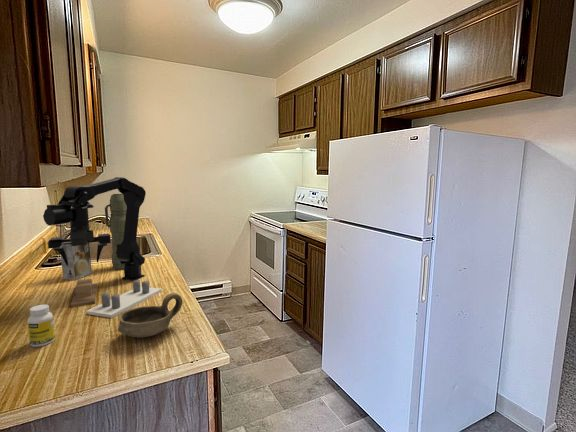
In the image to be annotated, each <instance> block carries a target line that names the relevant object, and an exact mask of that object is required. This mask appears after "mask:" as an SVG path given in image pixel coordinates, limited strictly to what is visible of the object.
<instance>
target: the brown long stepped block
mask: <svg viewBox="0 0 576 432" xmlns="http://www.w3.org/2000/svg"><path fill="white" fill-rule="evenodd" d="M76 281H77V282H76V285H75V289H74V292H73V296H72V299H71V302H70V308H75V307H82V306H88V305H95V304H96V298H97V290H98V283H96V282H95V283H93V279H92V278H84V279H77V280H76Z"/></svg>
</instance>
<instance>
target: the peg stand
mask: <svg viewBox="0 0 576 432" xmlns="http://www.w3.org/2000/svg"><path fill="white" fill-rule="evenodd" d="M132 288H133V289H131V290H128V291H126V292H124V293H121V294H113V295H111V293H110V292H104V293H102V294H101V303H100V304H97V305H95V306H94V307H92V308H90V309H88V310H85V313H86V315H92V316H97V317H103V318H108V319H112V318H114V317H117V316H118V315H121V314H122V313H123V312H125V311H127V310H130V309H132V308H133V307H135V306H137V305H139V304H141V303H144V301H147V300H148V299H150V298H152V297H154V296H156V295H157V294H160V293H161V292H162V291H163V289H162V288H160V287H159V288H158V287H150V281H148V280H143V281H141V280H140V279H136V280H132Z"/></svg>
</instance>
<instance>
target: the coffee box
mask: <svg viewBox="0 0 576 432" xmlns="http://www.w3.org/2000/svg"><path fill="white" fill-rule="evenodd" d="M64 245H65V247H66V252H67V257H68V266H67V265H66V263H65V261H64V259H63V257H62V256H61V255H60V259H61V260H60V262H61V268H62V269H61V270H62V279H63V280H69V281H78V280H80V279H82V278H84V277H87V276H90V275H92V274H93V272H92V270H93V269H92V261H91V249H90V242H88V244H87V245H77V246H71V244H64Z"/></svg>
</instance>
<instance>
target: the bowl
mask: <svg viewBox="0 0 576 432" xmlns="http://www.w3.org/2000/svg"><path fill="white" fill-rule="evenodd" d="M171 300H175V305H174V306H173V308H172V309H171V310H169V307H168V306H169V303H170V301H171ZM182 306H183V298H182V296H181V295H180V294H178V293H177V292H171V293H168V294H167V295H166V296H165V297H164V298H163V300H162V304H161V305H150V306H149V305H147V306H139V307H134V308H133V307H132V308H129V309H128V310H126V311H124V312H122V313H120V314H119V317H118V320H119V326H118V328H117V331H118V332H119V333H121V334H123V335H125V336H128V337H132V338H133V337H134V338H147V337H152V336H155V335H158V334H160V333H162V332H163V331H164V330H166V329H167V328H168V327H169V325H170V322H171V321H172V319H173V318H174V317H175V316H176V315H177V314H178V313H180V312H179V311H180V310H181V309H182Z"/></svg>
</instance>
